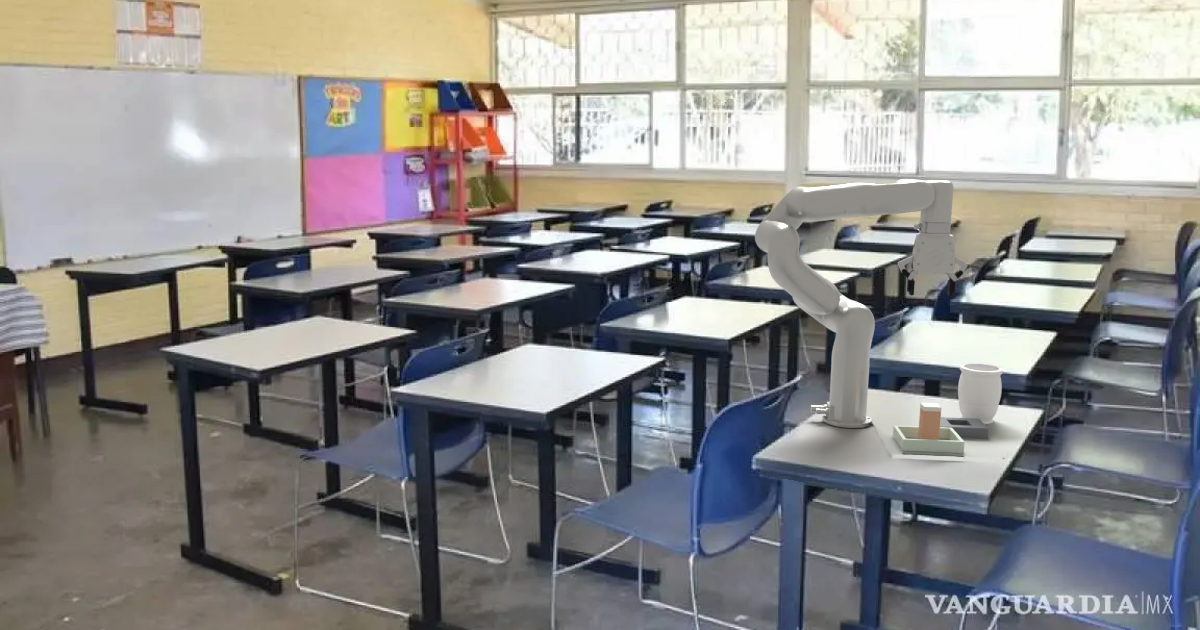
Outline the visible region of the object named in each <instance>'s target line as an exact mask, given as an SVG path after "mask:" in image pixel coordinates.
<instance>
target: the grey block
mask: <svg viewBox="0 0 1200 630" xmlns="http://www.w3.org/2000/svg"><path fill="white" fill-rule="evenodd" d="M940 427H947V428H953V429H954V431H955V432H956V433H957V434H958V435H959V436H960V437H961V438H962V439H963V438H964V439H965V438H967V439H968V438H969V439H989V430H990V428H989V427H988V426H987V424H984V423H983V422H982V421H981V420H980V419H975V418H961V417H945V416H941V419H940Z"/></svg>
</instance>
